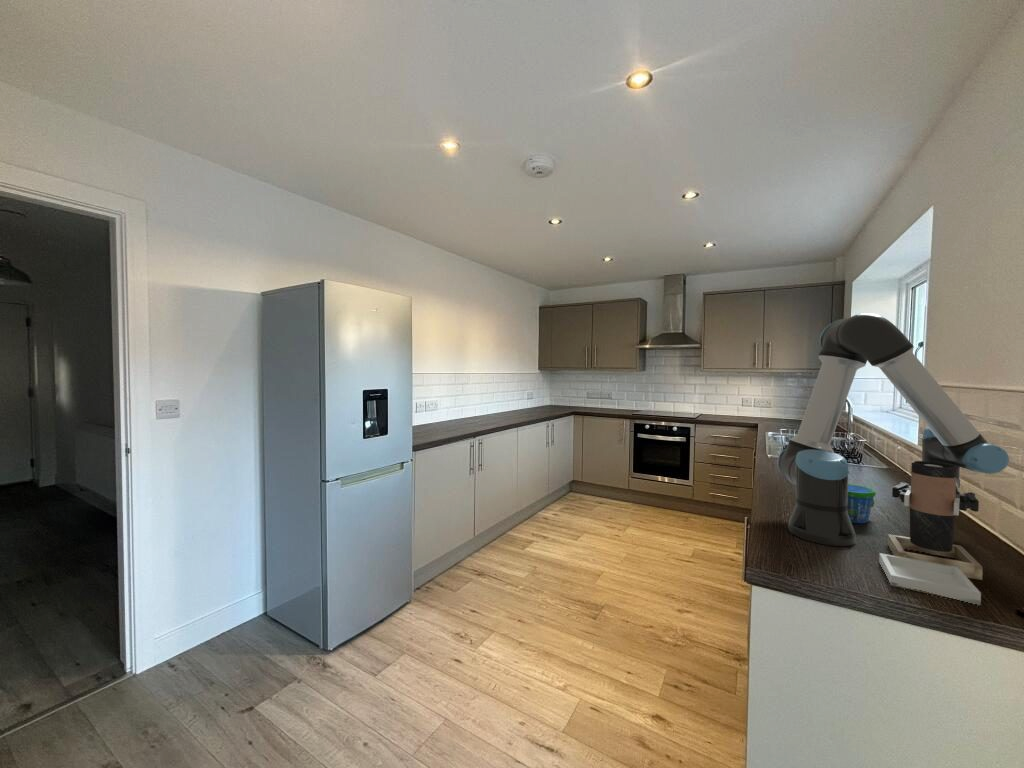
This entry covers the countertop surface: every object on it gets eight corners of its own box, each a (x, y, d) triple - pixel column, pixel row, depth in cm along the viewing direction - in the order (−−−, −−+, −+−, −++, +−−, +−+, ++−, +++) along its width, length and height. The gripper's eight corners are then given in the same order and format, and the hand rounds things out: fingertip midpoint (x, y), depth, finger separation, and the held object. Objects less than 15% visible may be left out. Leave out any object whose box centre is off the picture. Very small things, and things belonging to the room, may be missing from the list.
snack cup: (847, 527, 120) (847, 493, 119) (815, 515, 130) (815, 484, 130) (891, 524, 122) (891, 491, 122) (856, 513, 132) (856, 482, 132)
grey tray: (890, 586, 86) (890, 575, 86) (879, 563, 97) (879, 553, 97) (980, 605, 79) (981, 593, 79) (957, 578, 89) (957, 567, 89)
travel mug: (963, 554, 93) (966, 468, 93) (924, 550, 95) (927, 466, 94) (936, 540, 101) (938, 461, 100) (900, 538, 102) (902, 460, 102)
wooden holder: (899, 564, 96) (899, 552, 96) (887, 545, 107) (887, 534, 107) (982, 580, 89) (982, 566, 88) (960, 557, 100) (960, 545, 100)
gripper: (995, 511, 102) (997, 533, 87) (886, 493, 117) (872, 509, 102) (996, 482, 101) (998, 499, 87) (887, 467, 117) (873, 480, 102)
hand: (930, 504), depth 94 cm, fingers closed on travel mug, 7 cm apart
